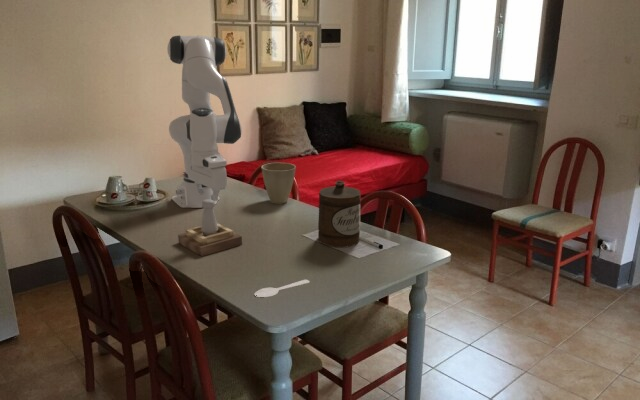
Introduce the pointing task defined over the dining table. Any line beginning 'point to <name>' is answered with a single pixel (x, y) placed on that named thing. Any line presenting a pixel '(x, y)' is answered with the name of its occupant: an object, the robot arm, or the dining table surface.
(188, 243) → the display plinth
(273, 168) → the plant pot
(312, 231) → the dining table surface
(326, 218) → the wooden container
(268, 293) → the spoon
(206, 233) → the salt shaker
